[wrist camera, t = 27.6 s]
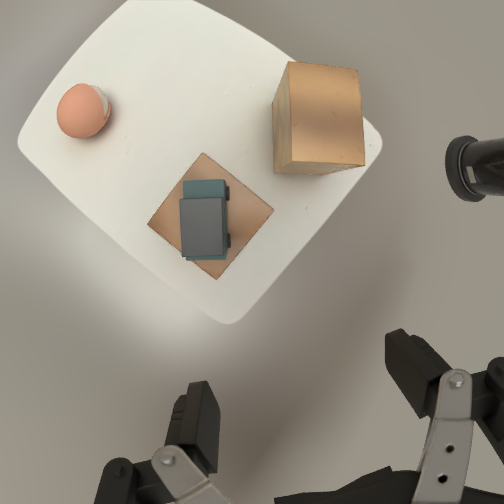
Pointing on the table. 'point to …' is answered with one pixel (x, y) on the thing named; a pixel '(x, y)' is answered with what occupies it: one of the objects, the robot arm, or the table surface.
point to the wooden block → (317, 120)
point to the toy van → (204, 220)
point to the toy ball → (83, 111)
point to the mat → (238, 210)
